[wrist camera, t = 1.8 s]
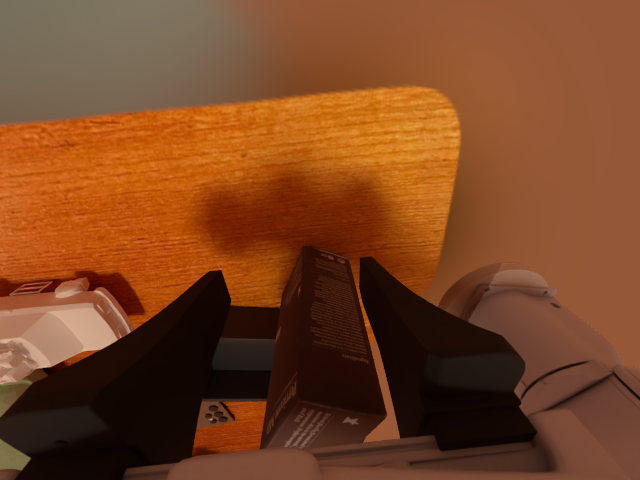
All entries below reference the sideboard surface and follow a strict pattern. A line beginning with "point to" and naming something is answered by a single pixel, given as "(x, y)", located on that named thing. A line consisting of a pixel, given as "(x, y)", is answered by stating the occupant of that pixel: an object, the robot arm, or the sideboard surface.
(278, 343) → the box
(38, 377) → the corn
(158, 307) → the sideboard surface
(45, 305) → the toy car
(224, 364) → the bin
